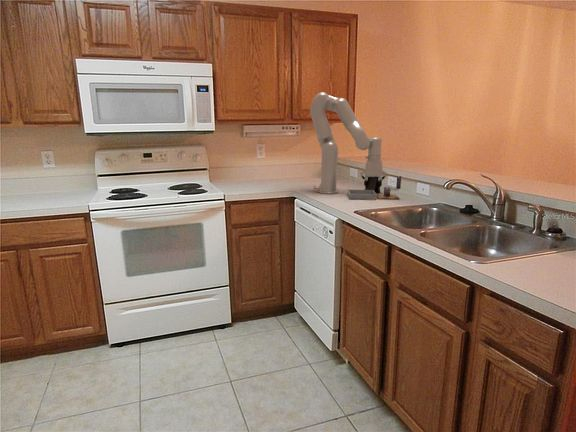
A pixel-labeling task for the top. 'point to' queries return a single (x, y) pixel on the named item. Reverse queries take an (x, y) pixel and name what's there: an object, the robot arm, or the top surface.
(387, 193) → the crank
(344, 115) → the robot arm
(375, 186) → the door stopper
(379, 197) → the crank base
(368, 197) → the tray
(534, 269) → the top surface
